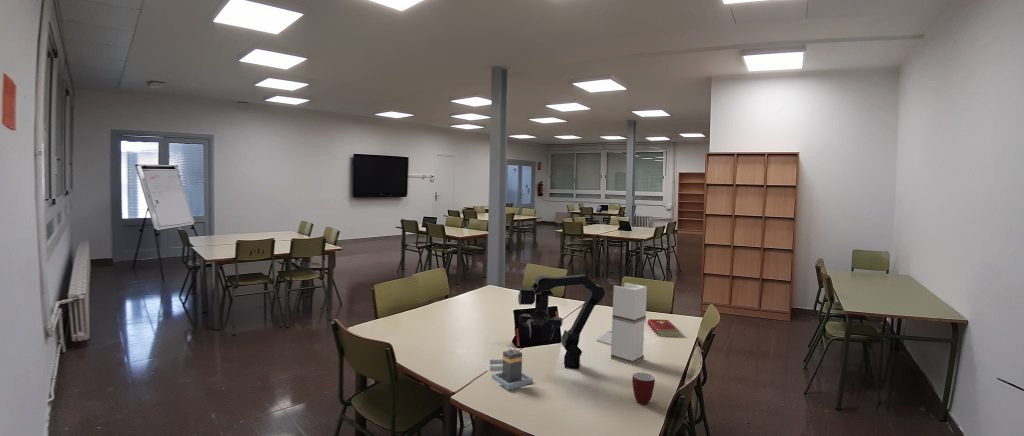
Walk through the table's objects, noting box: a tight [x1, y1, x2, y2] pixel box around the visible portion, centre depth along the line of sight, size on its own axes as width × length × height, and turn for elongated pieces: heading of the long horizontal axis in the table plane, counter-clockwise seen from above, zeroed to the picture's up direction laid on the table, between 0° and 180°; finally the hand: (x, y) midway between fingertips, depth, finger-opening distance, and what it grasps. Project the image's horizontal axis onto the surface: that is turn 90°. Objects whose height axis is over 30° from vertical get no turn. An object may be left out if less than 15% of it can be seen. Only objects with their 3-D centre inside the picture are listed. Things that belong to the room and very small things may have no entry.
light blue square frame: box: [491, 371, 533, 392], centre depth 194 cm, size 12×12×2 cm
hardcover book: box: [647, 318, 680, 337], centre depth 271 cm, size 12×21×4 cm, turn 178°
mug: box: [631, 372, 656, 405], centre depth 180 cm, size 10×8×10 cm
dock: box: [484, 358, 503, 372], centre depth 209 cm, size 12×10×2 cm
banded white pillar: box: [610, 282, 648, 366], centre depth 223 cm, size 11×11×35 cm
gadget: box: [595, 330, 612, 346], centre depth 252 cm, size 23×15×4 cm, turn 135°
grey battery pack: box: [501, 347, 523, 383], centre depth 194 cm, size 6×5×13 cm
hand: (540, 339), depth 210 cm, fingers open, 9 cm apart
